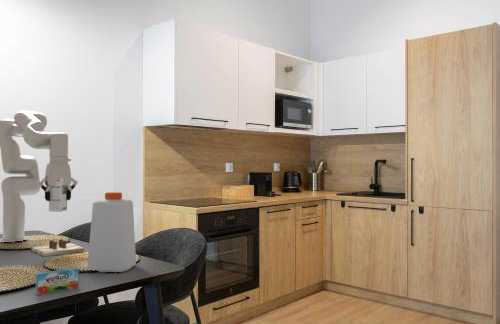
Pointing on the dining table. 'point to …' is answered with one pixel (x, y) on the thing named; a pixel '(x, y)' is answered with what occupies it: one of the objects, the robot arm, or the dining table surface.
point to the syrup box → (58, 197)
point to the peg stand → (57, 248)
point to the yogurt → (57, 281)
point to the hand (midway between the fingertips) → (58, 200)
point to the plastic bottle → (112, 235)
